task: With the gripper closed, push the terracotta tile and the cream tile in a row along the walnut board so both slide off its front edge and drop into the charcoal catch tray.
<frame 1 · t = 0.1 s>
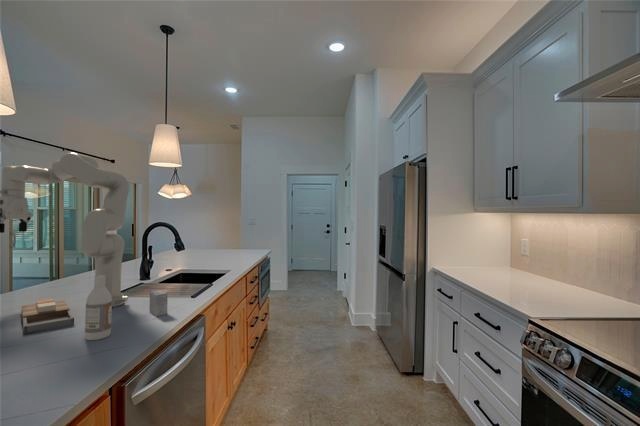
hand: (11, 232, 136), 31 cm above the countertop, tool pointing down, fingers open, 9 cm apart
medicine box: (158, 313, 125), on the countertop
catch tray: (48, 324, 109), on the countertop
terracotta tile: (45, 305, 121), point 3 cm above the countertop, touching walnut board
cream tile: (46, 309, 117), point 3 cm above the countertop, touching walnut board
walnut board: (45, 315, 119), on the countertop
bath foam: (98, 337, 100), on the countertop
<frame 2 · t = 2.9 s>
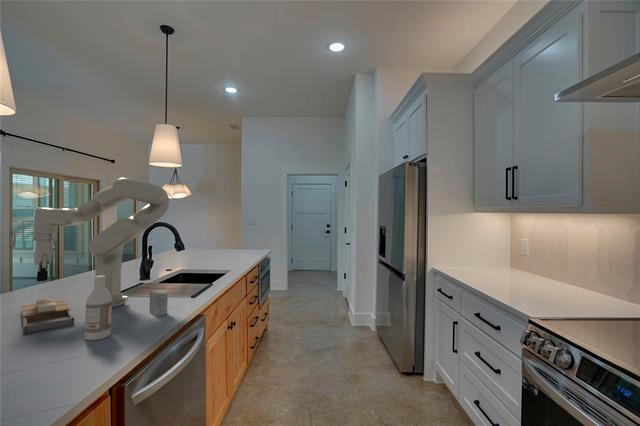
hand: (42, 280, 127), 12 cm above the countertop, tool pointing down, fingers closed
nothing on the countertop moved.
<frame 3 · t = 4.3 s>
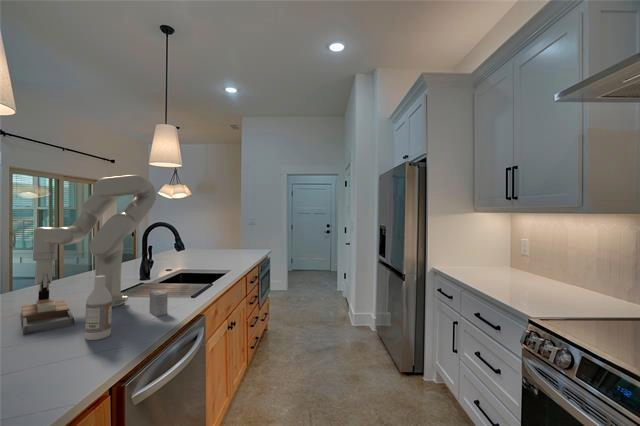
hand: (43, 300, 127), 4 cm above the countertop, tool pointing down, fingers closed
nothing on the countertop moved.
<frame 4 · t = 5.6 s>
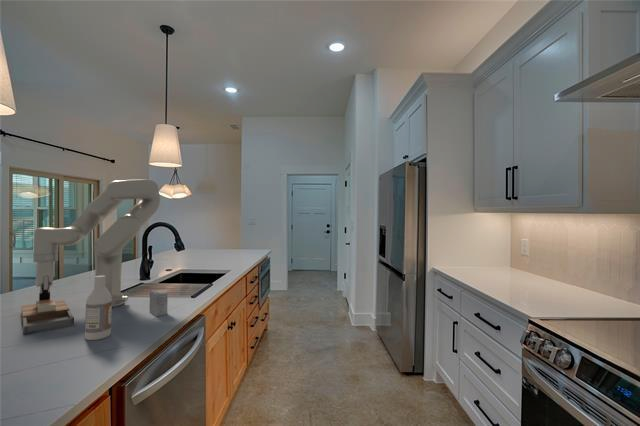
hand: (44, 302, 124), 4 cm above the countertop, tool pointing down, fingers closed
terracotta tile: (44, 306, 121), point 3 cm above the countertop, touching gripper, walnut board
everything else where it was.
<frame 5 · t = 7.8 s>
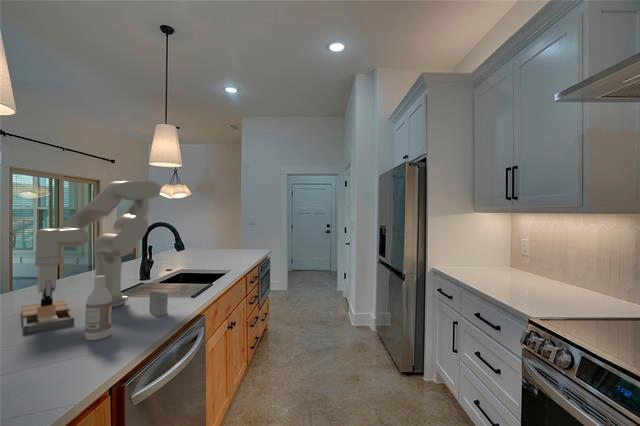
hand: (46, 309, 115), 4 cm above the countertop, tool pointing down, fingers closed
terracotta tile: (46, 314, 113), point 2 cm above the countertop, tilted 47°, touching catch tray, gripper
cream tile: (48, 318, 108), point 3 cm above the countertop, tilted 180°, touching catch tray
everything else where it was.
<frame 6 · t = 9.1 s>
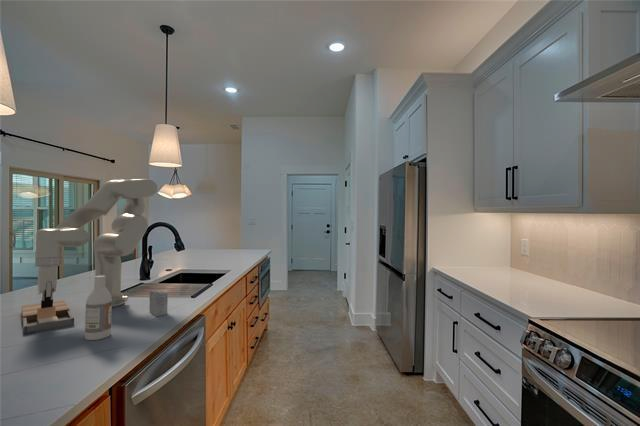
hand: (46, 310, 113), 4 cm above the countertop, tool pointing down, fingers closed
terracotta tile: (46, 316, 111), point 2 cm above the countertop, tilted 40°, touching catch tray, cream tile, gripper
cream tile: (48, 319, 107), point 3 cm above the countertop, tilted 180°, touching catch tray, terracotta tile
everything else where it was.
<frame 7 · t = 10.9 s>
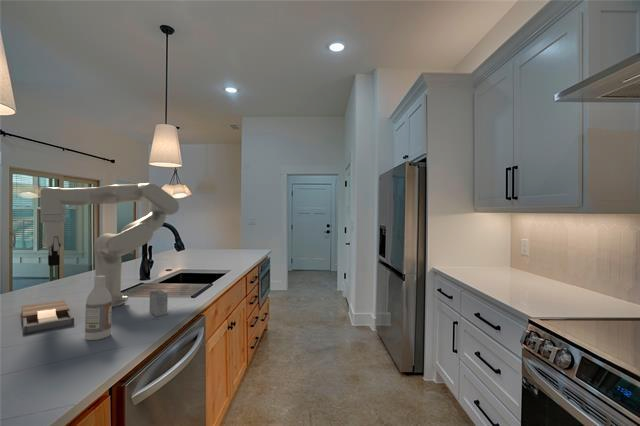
hand: (53, 265, 119), 20 cm above the countertop, tool pointing down, fingers closed
terracotta tile: (46, 318, 112), point 1 cm above the countertop, tilted 19°, touching catch tray, walnut board
cream tile: (48, 319, 107), point 3 cm above the countertop, tilted 180°, touching catch tray
everything else where it was.
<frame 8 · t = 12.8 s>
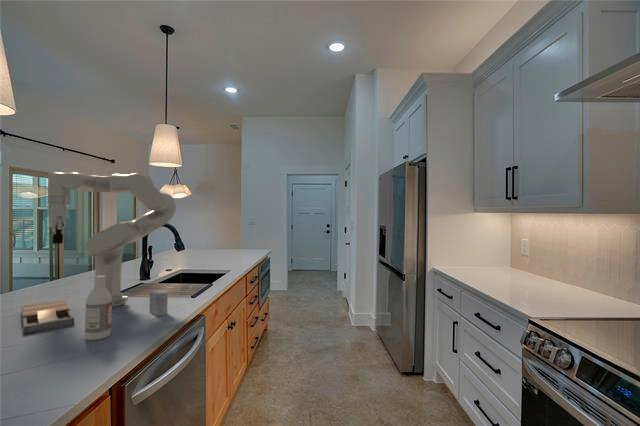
hand: (57, 243, 131), 27 cm above the countertop, tool pointing down, fingers closed
nothing on the countertop moved.
at the end: terracotta tile 3.8 cm from the catch tray (horizontally); cream tile 2.3 cm from the catch tray (horizontally); terracotta tile point 1.4 cm above the countertop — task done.
